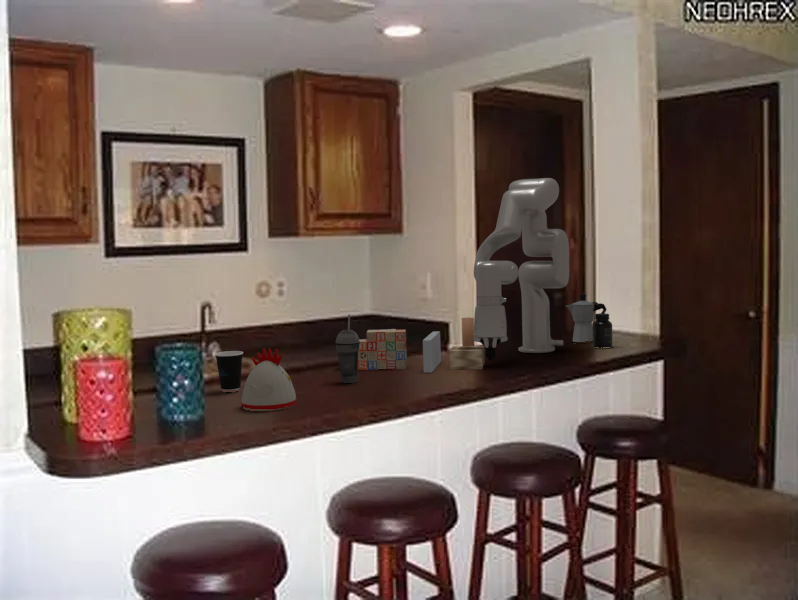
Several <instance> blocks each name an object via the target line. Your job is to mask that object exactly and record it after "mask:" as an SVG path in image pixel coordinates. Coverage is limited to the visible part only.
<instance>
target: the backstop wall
mask: <svg viewBox="0 0 798 600" xmlns="http://www.w3.org/2000/svg"><path fill="white" fill-rule="evenodd" d="M441 350H442V349H441V331H438V330H437V331H432V332H431V333H429V334H428V335H427V336H426V337H425V338H424V339H423V340H422V360H423V373H424V374H425V373H426V374H428V373H429V374H430V373H431V374H432V373H433V371H434V370H436V369H437V367H438V365H439V364H440V363H441V362H442V358H441V357H442V353H441Z"/></svg>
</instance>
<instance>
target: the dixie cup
mask: <svg viewBox="0 0 798 600" xmlns="http://www.w3.org/2000/svg"><path fill="white" fill-rule="evenodd" d="M243 354H244V351H242V350H241V351H240V350H230V351H229V350H227V351H220V352H219V351H218V352H216V353H214V356H215V361H216V364H217V365H216V366H217V367H216V368H217V370H218V371H217V372H218V378H219V379H218V380H219V385H220V389H221V391H222V390H238V389H241V387H242V385H241V384H242V370H243V367H242V366H243Z"/></svg>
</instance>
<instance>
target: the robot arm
mask: <svg viewBox="0 0 798 600" xmlns="http://www.w3.org/2000/svg"><path fill="white" fill-rule="evenodd" d="M559 193H560V186H559V184H558V181H556V179H554V178H552V177H542V178H525V179H518V180H514V181H511V183H510V184H509V186H508V190H506V191H505V192H504V193H503V195H502V198H501V201H500V207H499V212H498V217H497V220H496V227H495V229H494V230H493V231H492V232H491V233H490V234H489V236H487V237H486V238H485V239H484V241H483V242H482V243H481V244H480V246H479V248H478V250H477V253H476V256H475V259H474V260H475V261H474V264H473V278H474V280H475V281H476V285H477V287H476V288H477V290H476V292H477V305H476V306H475V307H474V308H475V309H474V314H473V315H474V317H473V318H474V339H473V340H474V342H476V343H480V344H482V346H484V348H485V357H486V358H487V361H494V359H495V358H496V357H497V352H496V351H497V349H496V347H497V346H499V345H500V343H504V342H507V341H508V339H509V338H508V335H507V333H508V325H507V324H508V323H507V315H506V308H505V305H502V304H503V303H507V297H503V296H502V285H510V284H513V283H514V282H516V280H517V279H518V281H519V282H518V283H519V286H520V292H521V325H522V331H521V332H522V345H521V346H519V347H518V351H519V352H521V353H526V354H536V353H537V354H542V353H543V354H545V353H552V352H554V351H555V350H556V349H555V348H556V347H555V346H559V347H560V346H561V347H563V346H564V340H562V339H552V336H551V326H550V325H551V321H550V320H551V319H550V317H551V316H550V314H551V313H550V310H551V309H550V299H549V296H548V295H547V293H546V292H545V290H544V289H563V288H565V287H566V286H567V285H568V283H569V279H570V244H569V243H570V242H569V238H568V235H567V232H565V230H563V229H561V228H548V224H547V223H548V222H547V221H548V220H547V214H546V210H547V209H548V208H550V207H551V206H552V205H553V204H555V202H556V201H557V200H558V197H559V195H560V194H559ZM520 237H521V239H522V240H521V241H522V243H521V245H522V252H523V253H524V255H525V256H527V257H533V258H534V257H535V258H545V257H546V258H547V257H548V258H549V257H550V258H552V260H529V261H524V262H523V263H522V264H520V266H519V267H518V265H517V264H516V263H515V262H513V261H510V260H490V259H491V258H492V256H493V255H494V253H496V251H498V250H499V249H501V248H503V247H506V246H507V245H509V244H511V243H514V242H516V241H517V240H518V239H519V238H520ZM489 339H492V344H490V343H489Z"/></svg>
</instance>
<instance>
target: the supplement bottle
mask: <svg viewBox="0 0 798 600" xmlns="http://www.w3.org/2000/svg"><path fill="white" fill-rule="evenodd" d="M594 317H595V318H594V321H592V334H593V343H592V348H593V347H599V348H601V347H602V348H603V347H612V348H613V322H611V321H610V313H606V312H605V313H602V312H600V313H599V312H598V313H594Z"/></svg>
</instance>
